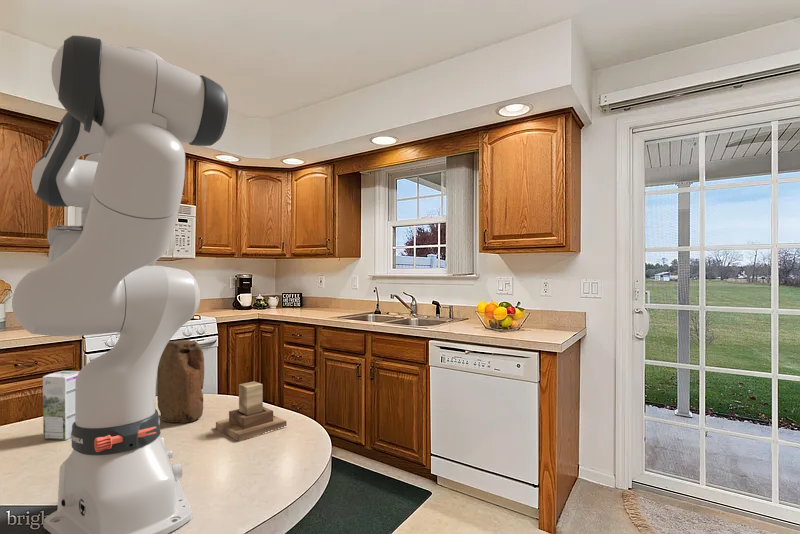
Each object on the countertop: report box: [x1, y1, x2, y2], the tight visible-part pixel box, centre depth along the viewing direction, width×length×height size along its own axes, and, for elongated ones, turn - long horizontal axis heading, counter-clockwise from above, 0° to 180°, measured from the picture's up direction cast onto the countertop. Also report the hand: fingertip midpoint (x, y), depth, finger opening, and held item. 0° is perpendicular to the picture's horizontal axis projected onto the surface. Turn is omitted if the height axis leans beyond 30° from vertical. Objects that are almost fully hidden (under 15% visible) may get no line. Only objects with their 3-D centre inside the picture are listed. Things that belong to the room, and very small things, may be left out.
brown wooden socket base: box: [215, 406, 288, 442], centre depth 106 cm, size 12×12×4 cm
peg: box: [238, 381, 264, 416], centre depth 106 cm, size 4×4×9 cm
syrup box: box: [42, 370, 80, 441], centre depth 102 cm, size 6×6×14 cm
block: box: [156, 339, 205, 424], centre depth 113 cm, size 11×8×20 cm
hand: (105, 288), depth 100 cm, fingers open, 8 cm apart
